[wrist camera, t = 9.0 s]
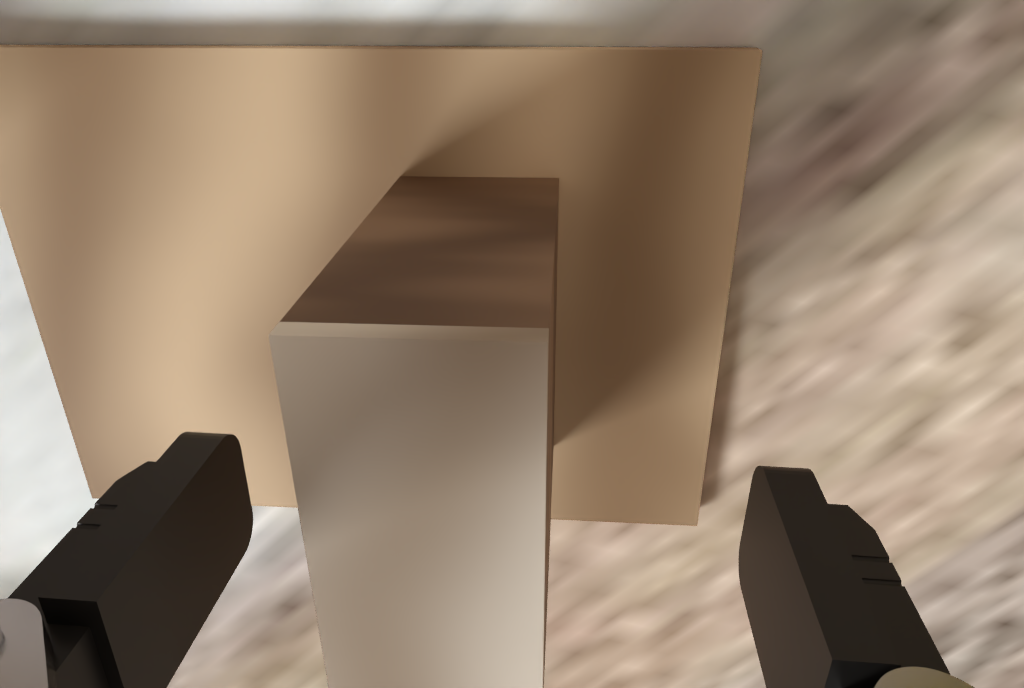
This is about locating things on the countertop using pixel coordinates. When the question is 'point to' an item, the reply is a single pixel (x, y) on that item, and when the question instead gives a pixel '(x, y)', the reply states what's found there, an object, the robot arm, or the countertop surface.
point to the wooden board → (342, 208)
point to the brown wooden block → (429, 434)
